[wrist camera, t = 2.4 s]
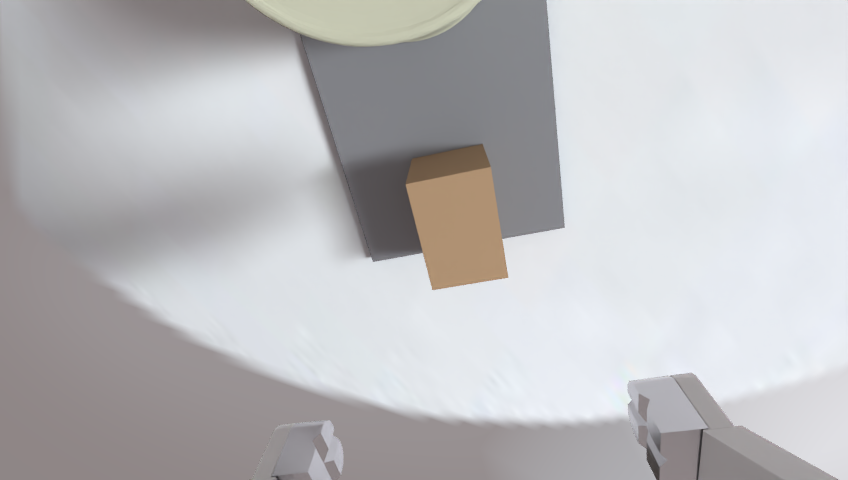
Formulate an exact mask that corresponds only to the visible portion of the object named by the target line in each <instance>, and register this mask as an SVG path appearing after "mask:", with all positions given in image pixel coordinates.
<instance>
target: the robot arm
mask: <svg viewBox="0 0 848 480" xmlns="http://www.w3.org/2000/svg"><path fill="white" fill-rule="evenodd" d="M628 394H629V395H630V397H631V399H632V401H631V402H630V403H629V404H628V414H629V419H630V423H631V426H632V429H633V432H634V434H635V437H636V438H637V441H638V442H639V444H641V445H642V446H643V447H645V448H646V449H647V461H648V463H649V465H650V467H651V469H652V471H653V473H654V476H655V478H656V480H838V479H837V478H835V477H833V476H831V475H829V474H827V473H826V472H824V471H822V470H820V469H819V468H817V467H815V466H813V465H811V464H810V463H808V462H806V461H804V460H802V459H801V458H799V457H797V456H795V455H793V454H792V453H790V452H788V451H786V450H784V449H783V448H781V447H779V446H777V445H775V444H774V443H772V442H770V441H768V440H766V439H765V438H763V437H761V436H759V435H757V434H756V433H754V432H752V431H750V430H748V429H746V428H745V427H743V426H734V425H733V423H732V422H731V421H730V420H729V418H728V417H727V416H726V414H725V413H724V412H723V410H722V409H721V408H720V406H719V405H718V404H717V402H716V401H715V400H714V399H713V397H712V396H711V395H710V393H709V392H708V391H707V389H706V388H705V387H704V386H703V384H702V383H701V382H700V380H699V379H698V378H697V376H696V375H694V374H693V373H686V374H678V375H671V376H662V377H655V378H648V379H641V380H633V381H629V383H628ZM333 431H334V427H333V425H332V423H331V421H328V420H325V421H315V422H306V423H295V424H287V425H279V426H278V427H277V428H276V429H275V430H274V431H273V433H272V436H271V438H270V440H269V443H268V445H267V447H266V449H265V452H264V454H263V456H262V459H261V461H260V463H259V465H258V468H257V470H256V472H255V474H254V476H253V479H252V480H337V479H338V478H339V477H340V476H341V473H342V468H343V449H342V445H341V442H340V440H339V439H338V438H336V437H334V436H333Z"/></svg>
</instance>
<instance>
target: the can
mask: <svg viewBox="0 0 848 480" xmlns="http://www.w3.org/2000/svg"><path fill="white" fill-rule="evenodd" d="M245 1H246V2H247V3H248V4H250V5H251V6H252V7H254V8H255V9H256V10H258V11H259V12H261V13H262V14H263V15H265V16H266V17H268V18H270V19H272V20H273V21H275V22H277V23H279V24H280V25H282V26H284V27H286V28H288V29H290V30H292V31H295V32H297V33H299V34H302V35H305V36H307V37H310V38H313V39H316V40H320V41H323V42H327V43H332V44H338V45H344V46H354V47H372V46H384V45H392V44H398V43H402V42H415V41H420V40H425V39H429V38H431V37H434V36H437V35H439V34H441V33H443V32H445V31H447V30H449V29H450V28H452V27H453V26H455V25H456V24H457V23H459V22H460V21H461V20H462V19H463V18H464V17H466V16H467V15H468V14H469V13H470V12H471V10H472V9H473V8H474V7H475V6H476V5H477V4H478V3H479V2H480V1H481V0H245Z"/></svg>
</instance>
